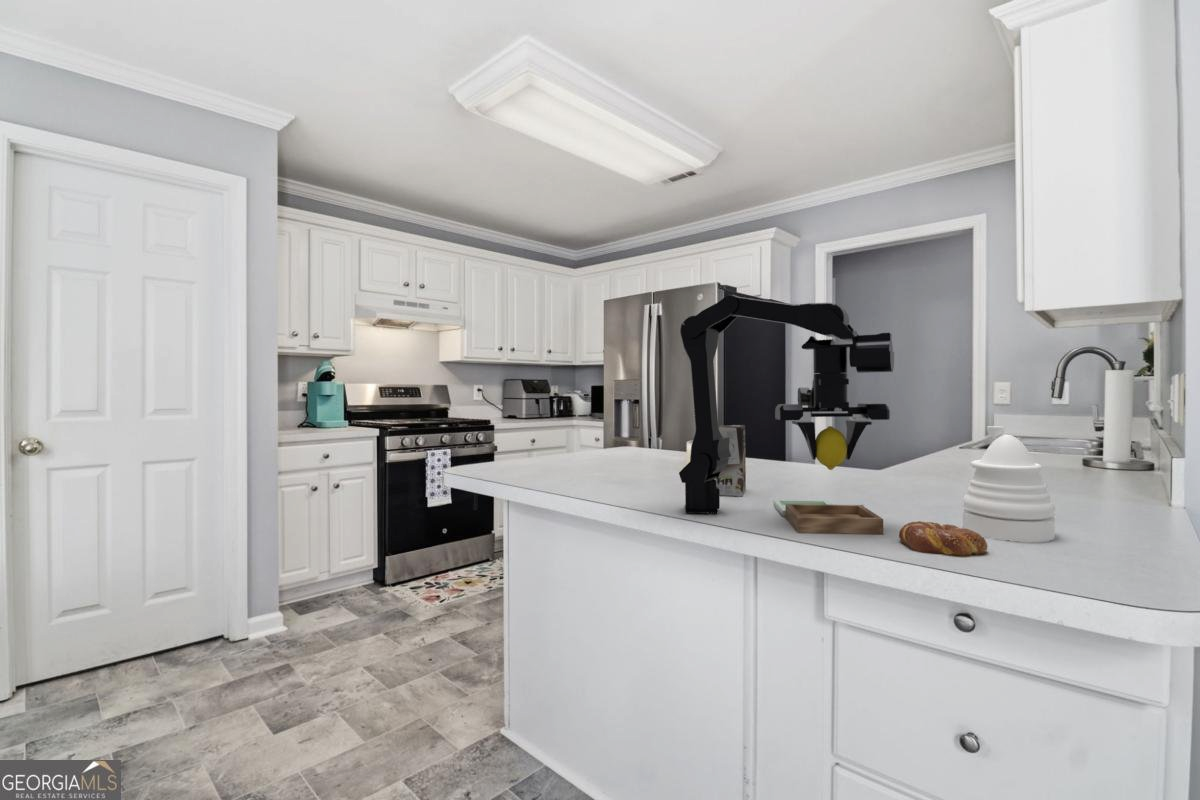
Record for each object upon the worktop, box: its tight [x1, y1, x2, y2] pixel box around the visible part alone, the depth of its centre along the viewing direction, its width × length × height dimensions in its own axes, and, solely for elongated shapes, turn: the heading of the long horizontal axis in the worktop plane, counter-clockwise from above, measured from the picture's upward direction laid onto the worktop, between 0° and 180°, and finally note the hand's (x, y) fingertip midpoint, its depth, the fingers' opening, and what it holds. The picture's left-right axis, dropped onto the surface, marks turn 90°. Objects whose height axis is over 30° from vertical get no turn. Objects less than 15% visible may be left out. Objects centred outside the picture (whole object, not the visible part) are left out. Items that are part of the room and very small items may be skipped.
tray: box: [785, 504, 884, 535], centre depth 107 cm, size 14×12×3 cm
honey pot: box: [962, 425, 1056, 543], centre depth 100 cm, size 13×13×18 cm
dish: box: [772, 499, 833, 518], centre depth 119 cm, size 11×11×1 cm
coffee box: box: [715, 424, 747, 497], centre depth 140 cm, size 9×6×16 cm
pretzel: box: [898, 521, 989, 557], centre depth 92 cm, size 12×11×4 cm
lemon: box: [815, 425, 847, 471], centre depth 107 cm, size 6×6×8 cm
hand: (830, 459), depth 107 cm, fingers closed on lemon, 5 cm apart
